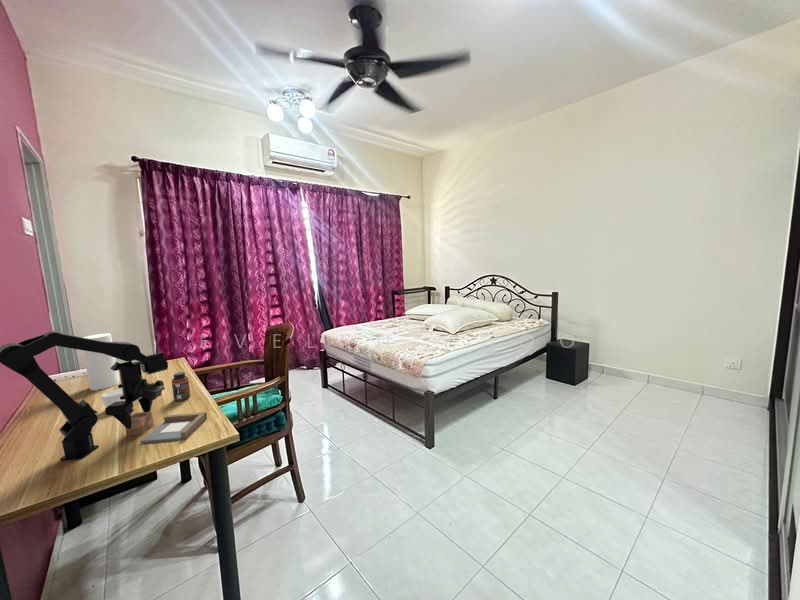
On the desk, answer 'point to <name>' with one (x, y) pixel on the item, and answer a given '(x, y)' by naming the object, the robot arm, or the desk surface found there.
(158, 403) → the desk surface
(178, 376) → the supplement bottle
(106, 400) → the cup
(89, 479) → the desk surface
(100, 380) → the tall pillar cylinder
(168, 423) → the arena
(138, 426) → the cube
